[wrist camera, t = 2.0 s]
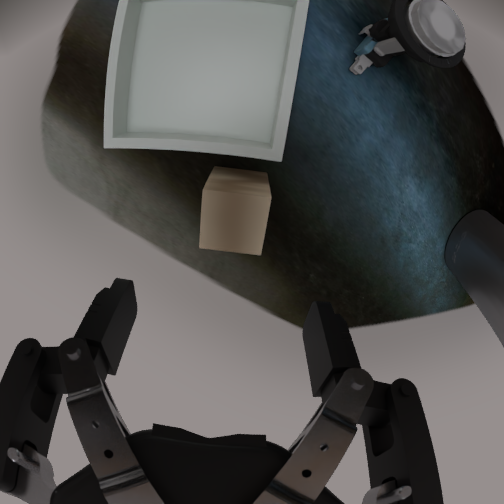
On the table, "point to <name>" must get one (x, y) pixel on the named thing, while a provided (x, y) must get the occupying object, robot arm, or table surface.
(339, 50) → the table surface
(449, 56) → the push button
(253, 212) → the pine block
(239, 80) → the tray
